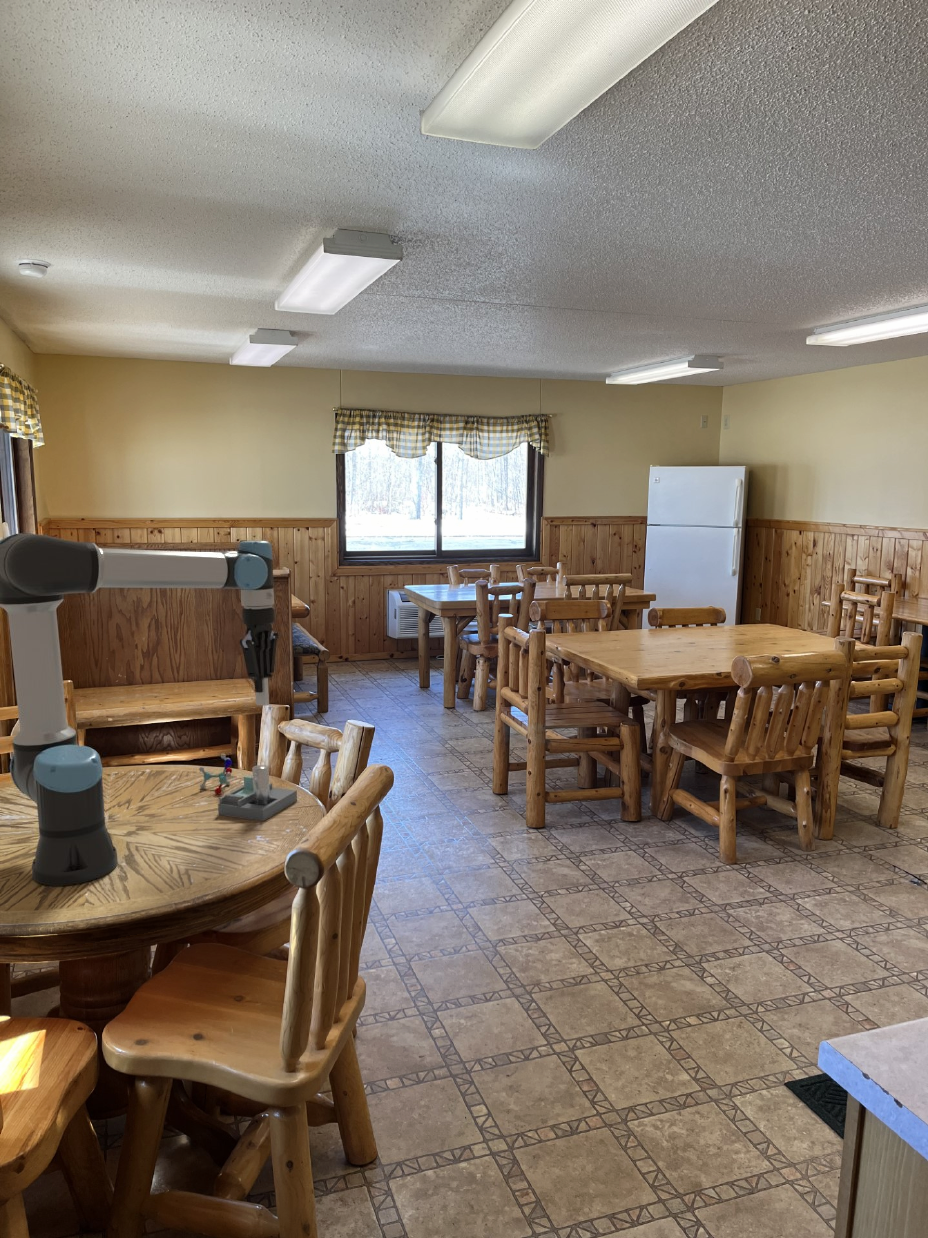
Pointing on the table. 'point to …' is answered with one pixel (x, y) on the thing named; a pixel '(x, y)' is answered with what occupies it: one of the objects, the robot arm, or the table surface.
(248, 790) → the lid
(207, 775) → the molecular model
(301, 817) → the table surface
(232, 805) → the housing
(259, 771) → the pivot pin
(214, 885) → the table surface
